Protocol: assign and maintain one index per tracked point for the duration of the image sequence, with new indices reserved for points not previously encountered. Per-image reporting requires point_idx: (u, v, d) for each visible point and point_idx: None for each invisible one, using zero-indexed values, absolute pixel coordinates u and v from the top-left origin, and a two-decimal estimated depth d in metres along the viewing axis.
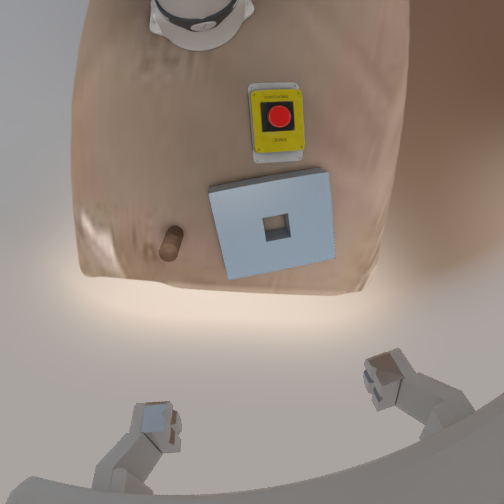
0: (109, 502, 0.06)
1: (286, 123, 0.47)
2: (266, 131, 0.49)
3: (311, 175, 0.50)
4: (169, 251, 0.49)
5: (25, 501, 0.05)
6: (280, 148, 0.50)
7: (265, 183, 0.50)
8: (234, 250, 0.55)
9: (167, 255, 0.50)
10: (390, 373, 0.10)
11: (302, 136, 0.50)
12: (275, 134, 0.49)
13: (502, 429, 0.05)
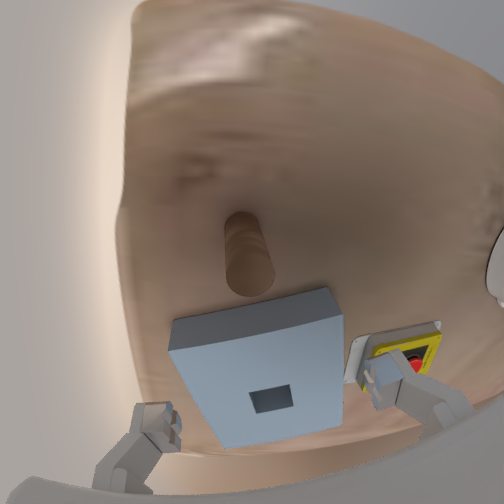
0: (109, 502, 0.06)
1: None
2: None
3: (341, 413, 0.35)
4: (255, 279, 0.20)
5: (25, 501, 0.05)
6: None
7: (341, 378, 0.31)
8: (231, 358, 0.28)
9: (243, 274, 0.20)
10: (390, 373, 0.10)
11: None
12: None
13: (502, 429, 0.05)
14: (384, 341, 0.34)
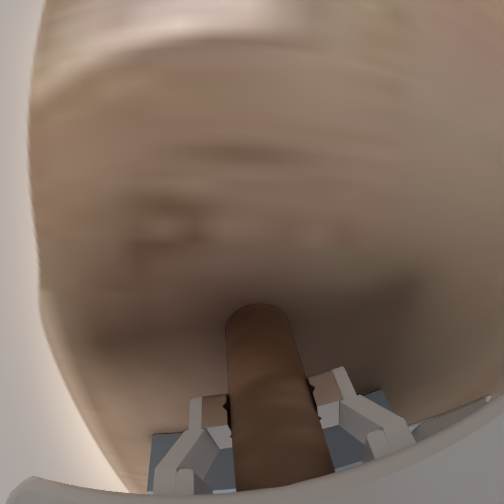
0: (109, 502, 0.06)
1: None
2: None
3: None
4: None
5: (25, 501, 0.05)
6: None
7: None
8: None
9: None
10: (328, 393, 0.10)
11: None
12: None
13: (502, 428, 0.05)
14: (437, 430, 0.21)
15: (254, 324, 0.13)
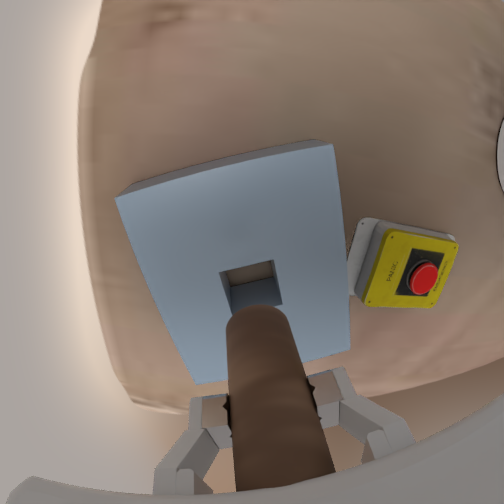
0: (109, 502, 0.06)
1: (413, 287, 0.29)
2: (409, 254, 0.29)
3: (348, 328, 0.29)
4: None
5: (25, 501, 0.05)
6: (380, 270, 0.29)
7: (344, 258, 0.25)
8: (193, 206, 0.22)
9: None
10: (328, 393, 0.10)
11: (382, 304, 0.31)
12: (401, 267, 0.29)
13: (502, 429, 0.05)
14: (396, 228, 0.28)
15: (254, 324, 0.13)
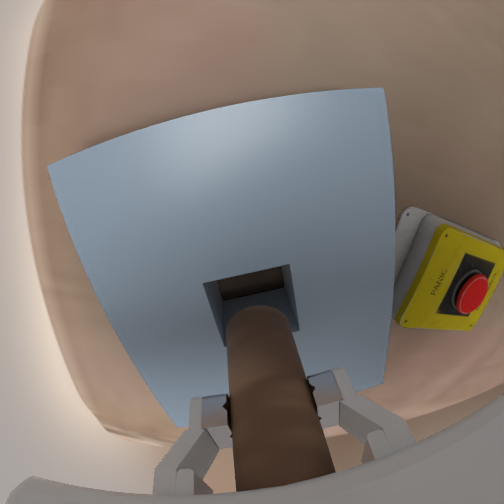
0: (109, 502, 0.06)
1: (461, 305, 0.20)
2: (461, 261, 0.20)
3: (384, 357, 0.20)
4: None
5: (25, 501, 0.05)
6: (425, 280, 0.20)
7: (392, 262, 0.16)
8: (161, 175, 0.13)
9: None
10: (328, 393, 0.10)
11: (419, 324, 0.22)
12: (449, 277, 0.20)
13: (502, 428, 0.05)
14: (450, 224, 0.19)
15: (255, 325, 0.13)
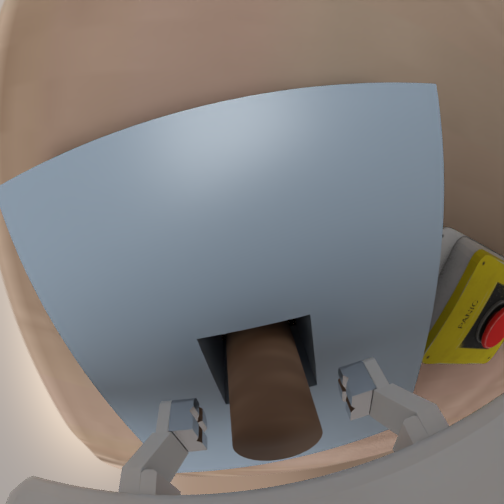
0: (109, 502, 0.06)
1: (486, 339, 0.16)
2: (492, 292, 0.16)
3: None
4: (286, 444, 0.09)
5: (25, 501, 0.05)
6: (456, 312, 0.16)
7: (430, 304, 0.12)
8: (134, 201, 0.09)
9: (266, 441, 0.09)
10: (361, 382, 0.10)
11: (441, 360, 0.18)
12: (478, 309, 0.16)
13: (502, 429, 0.05)
14: (485, 250, 0.16)
15: None
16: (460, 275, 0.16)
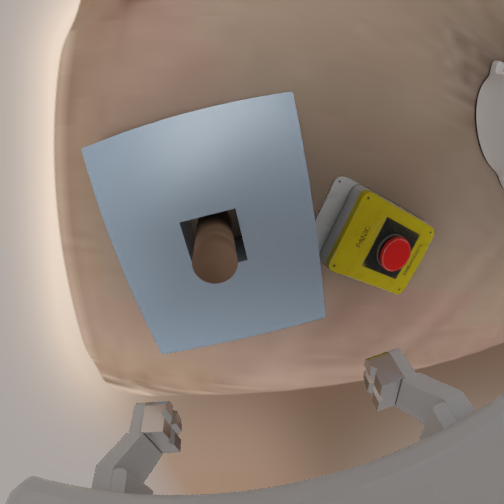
0: (109, 502, 0.06)
1: (383, 260, 0.29)
2: (383, 223, 0.28)
3: (321, 291, 0.28)
4: (219, 266, 0.21)
5: (25, 501, 0.05)
6: (350, 231, 0.28)
7: (311, 209, 0.24)
8: (154, 153, 0.21)
9: (208, 261, 0.21)
10: (390, 373, 0.10)
11: (347, 273, 0.30)
12: (373, 235, 0.29)
13: (502, 429, 0.05)
14: (374, 193, 0.28)
15: None
16: (352, 206, 0.28)
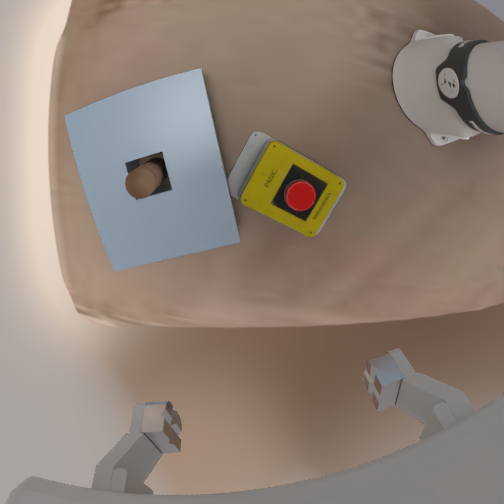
0: (109, 502, 0.06)
1: (288, 199, 0.36)
2: (289, 169, 0.36)
3: (233, 218, 0.35)
4: (142, 185, 0.29)
5: (25, 501, 0.05)
6: (259, 172, 0.36)
7: (217, 150, 0.32)
8: (109, 116, 0.29)
9: (135, 182, 0.29)
10: (390, 373, 0.10)
11: (257, 208, 0.38)
12: (280, 178, 0.36)
13: (502, 428, 0.05)
14: (282, 144, 0.35)
15: (151, 159, 0.35)
16: (262, 153, 0.36)
